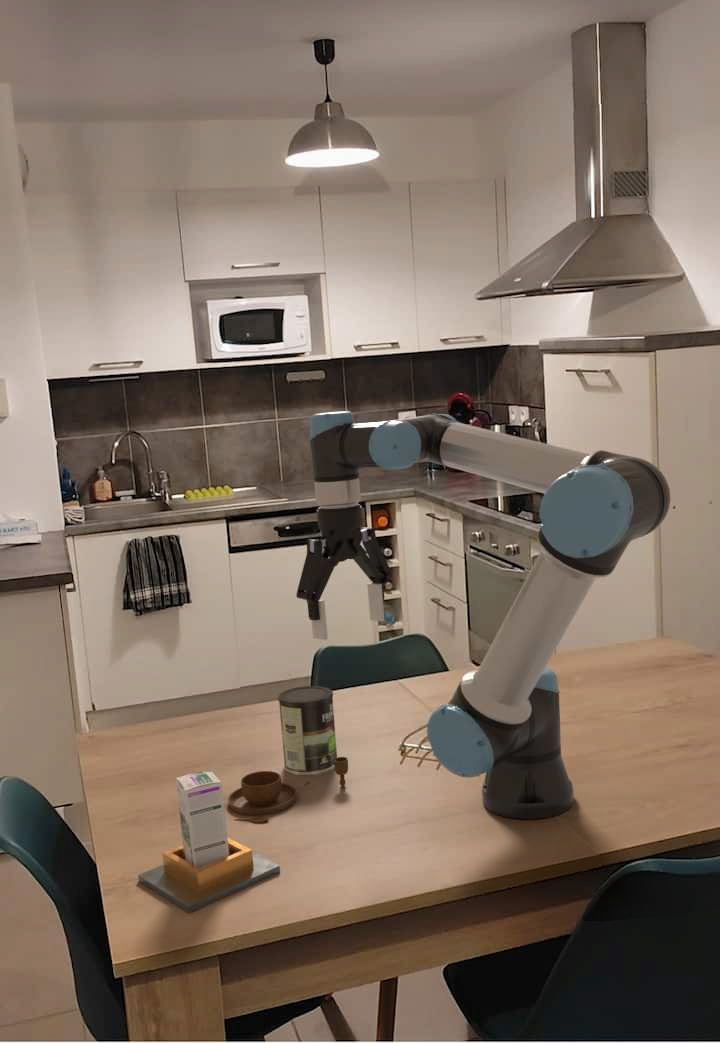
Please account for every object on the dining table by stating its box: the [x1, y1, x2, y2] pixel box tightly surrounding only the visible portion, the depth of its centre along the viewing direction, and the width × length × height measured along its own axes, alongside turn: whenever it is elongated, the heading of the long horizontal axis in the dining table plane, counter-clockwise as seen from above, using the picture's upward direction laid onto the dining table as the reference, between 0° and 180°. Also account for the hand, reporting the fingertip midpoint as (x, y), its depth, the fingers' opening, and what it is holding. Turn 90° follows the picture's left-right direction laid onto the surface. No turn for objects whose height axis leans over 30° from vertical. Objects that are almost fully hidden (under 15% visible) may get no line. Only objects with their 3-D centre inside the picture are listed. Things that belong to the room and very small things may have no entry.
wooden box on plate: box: [137, 836, 281, 914], centre depth 159 cm, size 14×16×4 cm
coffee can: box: [277, 685, 338, 776], centre depth 200 cm, size 10×10×14 cm
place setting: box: [227, 756, 349, 824], centre depth 185 cm, size 18×20×6 cm
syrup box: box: [175, 769, 229, 869], centre depth 158 cm, size 6×6×14 cm
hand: (349, 629), depth 180 cm, fingers open, 13 cm apart
